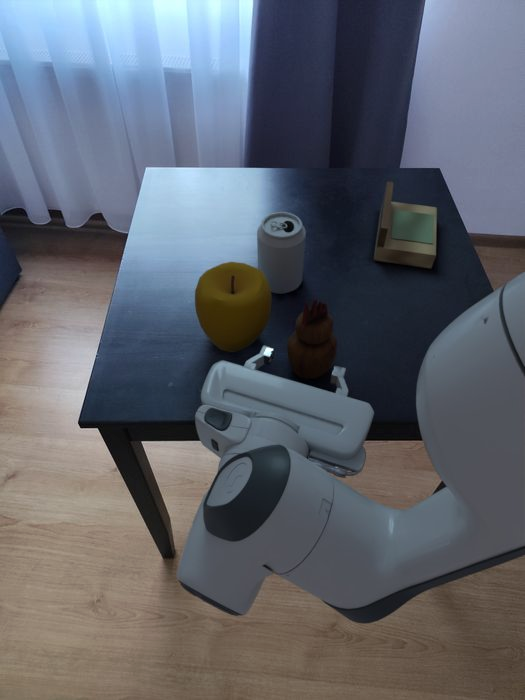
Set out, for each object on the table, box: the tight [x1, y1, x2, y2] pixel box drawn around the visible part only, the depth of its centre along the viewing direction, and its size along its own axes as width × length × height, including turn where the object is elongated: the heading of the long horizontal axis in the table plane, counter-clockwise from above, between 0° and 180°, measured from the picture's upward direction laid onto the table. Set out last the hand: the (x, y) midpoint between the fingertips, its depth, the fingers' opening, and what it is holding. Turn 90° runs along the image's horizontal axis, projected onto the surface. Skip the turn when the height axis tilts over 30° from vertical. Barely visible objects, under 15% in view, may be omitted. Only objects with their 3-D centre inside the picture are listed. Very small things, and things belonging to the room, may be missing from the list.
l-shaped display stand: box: [373, 181, 438, 269], centre depth 85 cm, size 10×14×7 cm
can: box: [256, 211, 307, 295], centre depth 76 cm, size 8×8×12 cm
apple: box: [194, 261, 272, 353], centre depth 68 cm, size 11×11×13 cm
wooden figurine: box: [286, 298, 338, 380], centre depth 64 cm, size 7×6×15 cm
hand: (304, 359), depth 61 cm, fingers open, 8 cm apart
